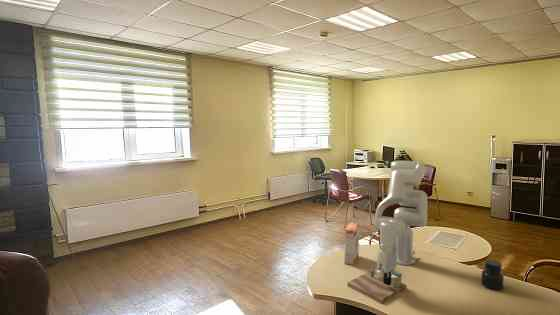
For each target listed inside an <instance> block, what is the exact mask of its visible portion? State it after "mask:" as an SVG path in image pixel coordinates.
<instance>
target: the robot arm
mask: <svg viewBox="0 0 560 315" xmlns="http://www.w3.org/2000/svg"><path fill="white" fill-rule="evenodd" d="M390 170H391V173H390V178H389V184H388V185H389V186H388V191H387V196H386V197H385V198H384V199H383V200H382V201H380V203H378V205H377V207H376V210H375V214H374V222H373V224H374V229H375V230H376V231H379V251H378V253H377V260H376V261H377V262H376V268H377V270H380V275H382V276H384V279H383V283H384V284H386V285H388V286H389V285H391V276H392V272H393V271H396V269H397V266H398V265H403V266H412V265H415V263H416V258H414V257H413V256H414V255H416V251H415V250H413V248H414V245H413V244H414V242H413V241H414V240H413V238H414V232H413V229H412V228H411V227H417V228H418V227H420V228H423V227H426V225H427V223H428V195H427V193H426V192H425V191H423V190H417V189H414V187H419V186H420V184H421V182H422V179H423V177H424V174H425V170H426V168H425V164H424V163H423V162H422V161H417V160H415V161H413V160H394V161H392V162H391V163H390ZM395 204H398V205H399V206H402V207H398V208H396V209H394V212H393V217H392V216H385V215H383V213H384V210H385V209H386V208H388V207H389V206H390V207H391V206H393V205H395ZM409 207H410V208H409ZM411 207H412V208H411ZM416 208H417V209H416Z"/></svg>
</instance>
